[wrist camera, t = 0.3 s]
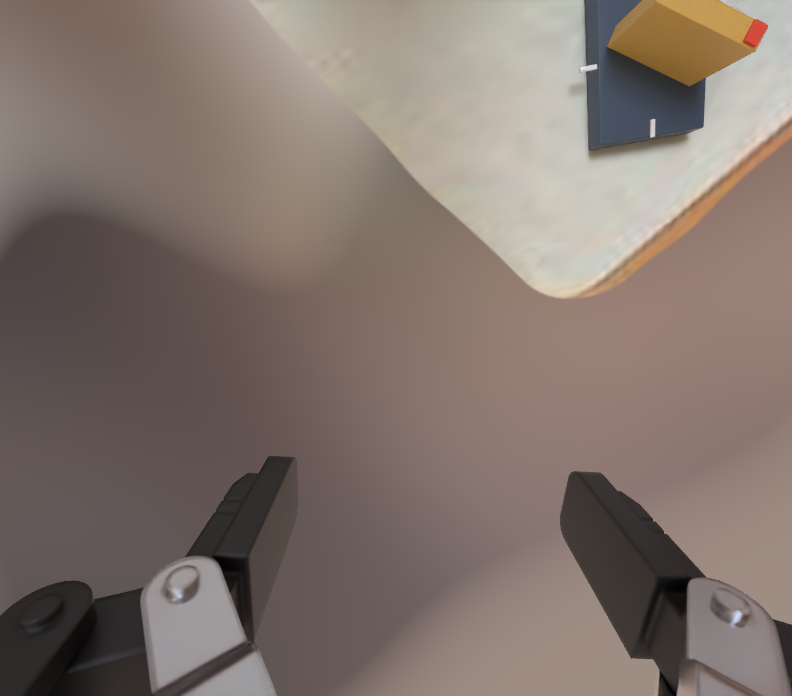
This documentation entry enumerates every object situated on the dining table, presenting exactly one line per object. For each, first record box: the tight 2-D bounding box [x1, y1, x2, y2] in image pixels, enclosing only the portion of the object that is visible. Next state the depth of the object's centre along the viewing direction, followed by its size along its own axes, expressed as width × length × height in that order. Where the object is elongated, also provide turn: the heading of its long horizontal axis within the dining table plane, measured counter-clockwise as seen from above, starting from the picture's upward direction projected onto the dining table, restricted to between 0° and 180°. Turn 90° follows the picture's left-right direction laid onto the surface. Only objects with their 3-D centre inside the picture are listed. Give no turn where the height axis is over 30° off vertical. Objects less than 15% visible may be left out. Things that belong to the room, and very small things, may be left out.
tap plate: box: [580, 0, 706, 150], centre depth 32 cm, size 12×12×2 cm
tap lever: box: [607, 0, 768, 86], centre depth 28 cm, size 8×2×6 cm, turn 69°
